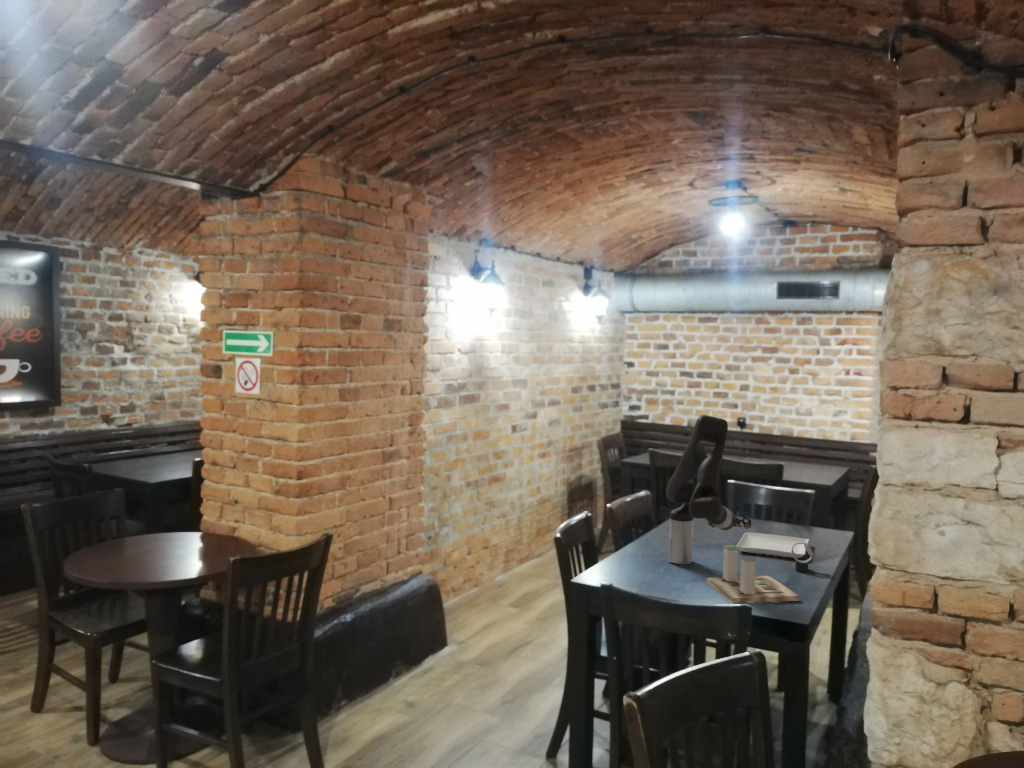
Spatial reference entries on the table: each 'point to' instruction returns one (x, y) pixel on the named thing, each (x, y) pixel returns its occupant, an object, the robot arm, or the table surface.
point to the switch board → (764, 590)
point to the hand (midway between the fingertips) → (735, 526)
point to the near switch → (747, 575)
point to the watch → (801, 564)
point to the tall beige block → (730, 563)
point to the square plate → (772, 545)
